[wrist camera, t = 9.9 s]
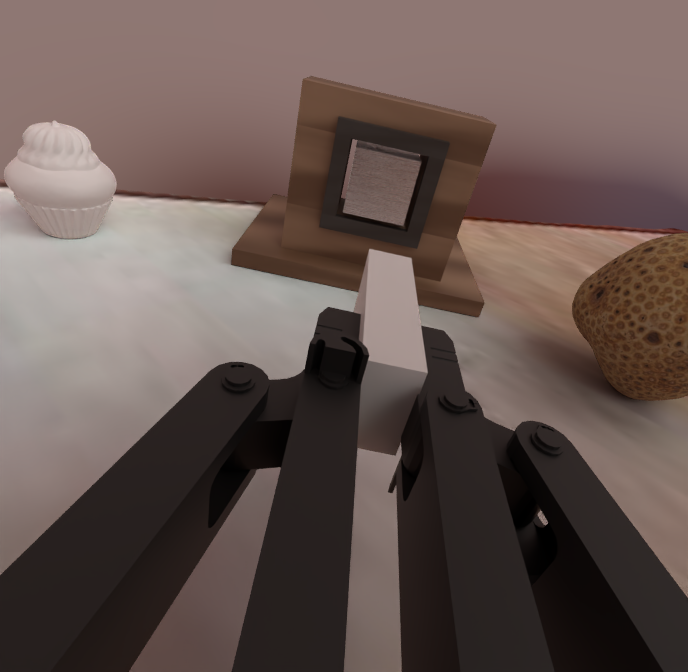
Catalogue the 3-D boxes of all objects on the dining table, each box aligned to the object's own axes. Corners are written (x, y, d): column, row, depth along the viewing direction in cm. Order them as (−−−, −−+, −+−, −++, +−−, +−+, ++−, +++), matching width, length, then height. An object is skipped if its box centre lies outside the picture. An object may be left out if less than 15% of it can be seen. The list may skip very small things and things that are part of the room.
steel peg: (403, 225, 30) (421, 161, 28) (342, 212, 30) (355, 146, 27) (394, 159, 48) (404, 118, 46) (356, 151, 48) (365, 109, 46)
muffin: (4, 217, 30) (-21, 103, 26) (101, 210, 34) (91, 111, 30) (31, 254, 27) (6, 131, 23) (134, 242, 31) (128, 136, 27)
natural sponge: (519, 366, 27) (602, 210, 22) (574, 331, 33) (650, 200, 28) (676, 465, 22) (832, 295, 17) (708, 403, 28) (833, 262, 23)
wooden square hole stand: (478, 317, 32) (554, 141, 25) (231, 264, 31) (244, 68, 24) (451, 245, 44) (498, 113, 37) (272, 206, 43) (288, 63, 36)
